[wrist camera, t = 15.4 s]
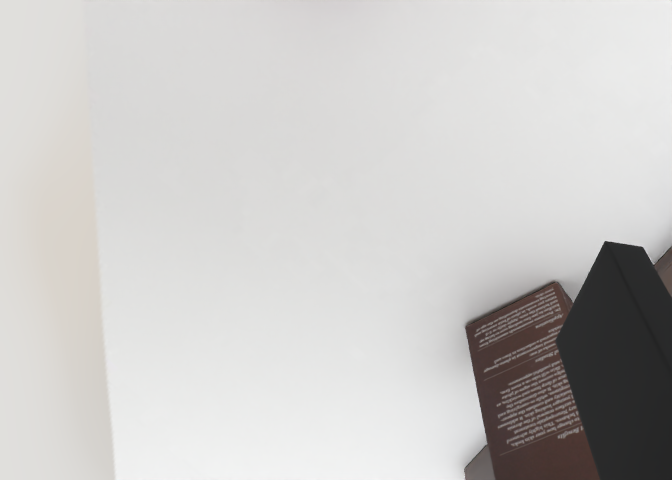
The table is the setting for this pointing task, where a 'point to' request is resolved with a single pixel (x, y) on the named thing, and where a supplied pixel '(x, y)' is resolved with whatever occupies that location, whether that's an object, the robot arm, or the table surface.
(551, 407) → the box
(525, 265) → the table surface
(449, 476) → the table surface
